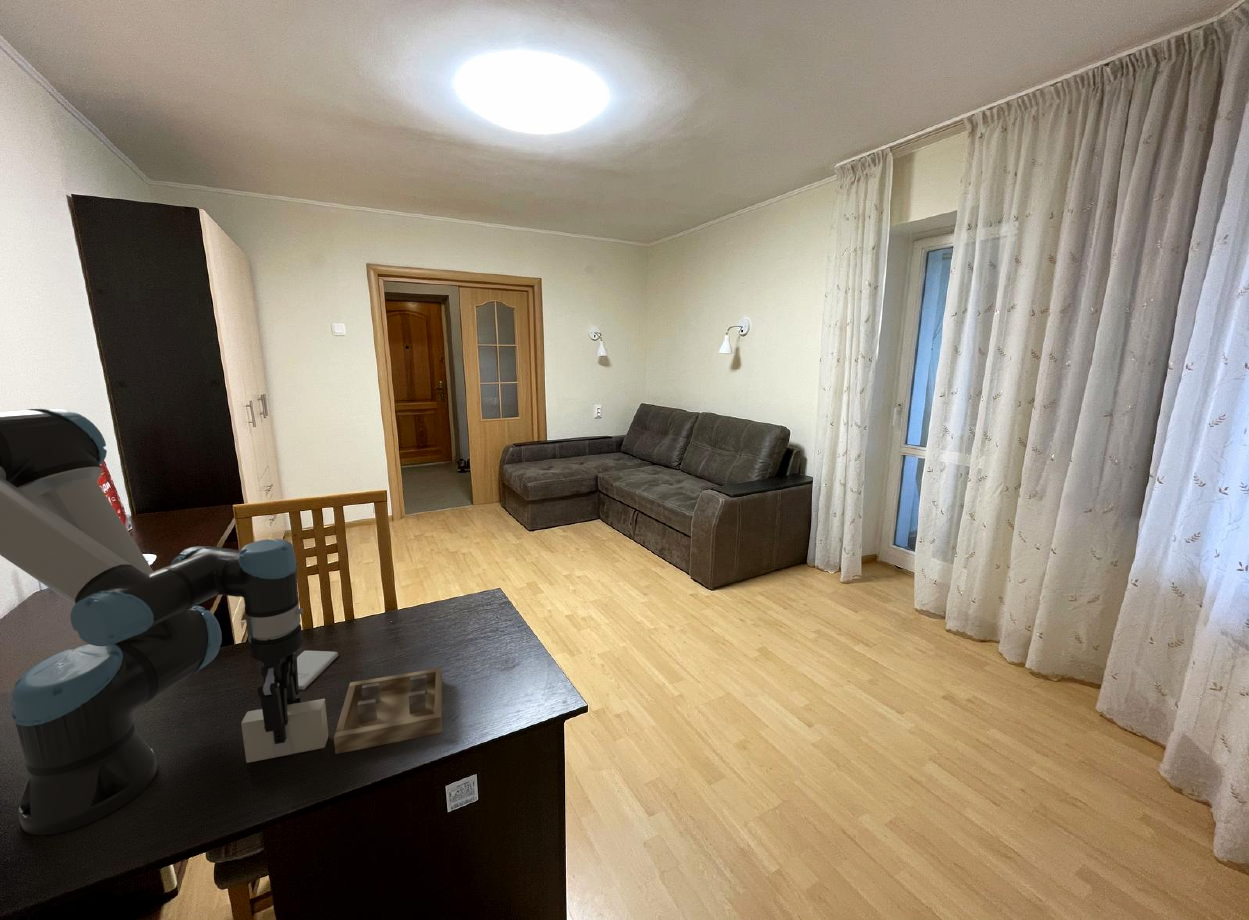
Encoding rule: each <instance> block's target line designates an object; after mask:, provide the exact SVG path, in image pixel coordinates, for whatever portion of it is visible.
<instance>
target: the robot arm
mask: <svg viewBox="0 0 1249 920" xmlns="http://www.w3.org/2000/svg"><path fill="white" fill-rule="evenodd" d="M106 446H107V444H106V440H105V438H104V436H103V434H102V432H101V431H100V430H99V428H98V427H97V426H96V425H95V424H94V423H93V422H92V421H91V420H90V419H89V418H87V417H86V416H83V415H82V414H80V413H77V412H75V411H71V410H69V409H64V408H63V409H62V408H51V409H50V408H29V409H26V410H25V409H24V410H16V411H15V410H13V411H1V412H0V556H1V557H3V558H4V559H5V560H7V561H8V562H10V563H12V564H13V565H14V566H16V567H17V568H19V569H20V570H22V571H23V572H25V573H26V574H28V575H29V576H31V577H32V578H33V579H35V580H37V581H38V582H39V583H41V584H43V585H44V586H46V587H47V588H49V589H50V590H51V591H53V592H55V593H56V594H58V595H59V596H61V598H63V599H65V600H67V601H68V602H70V603H71V604H72V605H73V607H72V609H71V611H70V617H69V618H70V624H71V628H73V630H74V631H76V632H77V634H78V635H79V636H78V637H79V638H80V639H81V640H82V641H83V642H85V644H81V645H79V646H78V647H76V648H73V649H72V648H68V649H65V650H63V651H60V652H58V653H56V654H54V655H51V656H49V657H47V658H46V659H44V660H42V661H40V662H38V663H37V664H35V665H34V666H33V667H31V668H30V669H28V670H27V671H26V672H24V673H23V674H22V675H21V676H20V677H19V679H18V680H17V681H16V682H15V683H14V686H13V688H12V690H11V693H10V699H11V700H10V703H11V718H12V720H13V721H14V722H15V723H14V724H15V726H16V729H17V731H16V732H17V734H18V738H19V742H20V746H21V749H22V750H21V751H22V754H23V756H24V757H23V759H24V761H25V765H26V770H27V777H26V780H25V784H24V788H23V791H22V795H21V799H20V803H19V806H18V817H19V822H20V825H21V829H22V830H23V831H24V832H25V833H28V834H30V835H35V836H51V835H56V834H61V833H66V832H69V831H72V830H76V829H78V828H81V827H84V826H87V825H90V824H91V823H94V822H96V821H98V820H100V819H103V818H105V817H106V816H108V815H110V814H112V813H113V812H115V811H117V810H119V809H120V808H122V807H123V806H125V805H126V804H128V803H129V802H131V801H132V800H133V799H135V798H136V797H137V796H138V795H140V794H141V793H142V792H143V791H144V790H145V789H146V788H147V787H148V786H149V785H150V783H151V782H152V780H153V779H154V777H155V775H156V774H157V771H158V764H157V762H158V761H157V758H156V754H155V751H154V750H153V748H151V747H150V746H149V745H148V744H147V742H146V741H145V740H144V738H142V737H141V735H140V734H139V733H138V732H137V730H136V727H135V722H134V721H135V720H134V716H133V713H134V711H136V710H137V709H139V708H140V707H142V706H144V705H145V704H146V703H148V702H150V701H151V700H153V699H155V698H157V697H158V696H160V695H161V694H163V693H165V692H167V691H168V690H169V689H171V688H173V687H174V686H176V685H178V684H179V683H181V682H182V681H184V680H186V679H187V678H190V677H192V676H195V674H197V673H198V672H199V671H200V670H201V669H203V668H205V667H206V666H207V665H208V664H210V663H211V662H213V660H215V658H216V657H217V655H218V653H219V652H220V649H221V647H220V646H221V645H222V640H223V637H222V630H221V627H220V623H219V621H218V619H217V618H216V616H215V615H214V614H213V613H212V611H210V610H208V609H207V610H206V608H205V607H203V606H200V604H201V603H204V602H207V601H208V600H210V599H212V598H214V597H217V596H228V597H235V598H236V597H238V598H239V597H240V598H243V602H244V614H245V623H246V633H247V635H248V638H247V639H248V649H249V655H250V657H251V658H252V659H254V660H255V661H259V662H261V663H263V665H262V666H261V677H262V678H263V684H258V686H257V694H258V695H259V698H260V699H259V700H260V704H261V706H260V707H261V709H262V712H263V718H264V725H265V727H264V729H265V731H266V732H270V731H271V733H272V743H273V752H274V758H278V757H284V756H285V757H286V756H289V755H290V756H291V755H293V754H292V753H293V746H292V736H291V725H290V720H288V716H287V705H289V704H295V703H301V702H302V697H298V698H297V696H298V695H299V694H300V689H299V686H298V669H297V657H298V650H299V649H300V648H301V647H302V645H303V629H302V624H301V615H302V614H303V613H304V609H303V608H302V607H301V608H300V599H299V589H298V588H299V587H298V586H299V585H298V562H297V559H296V554H295V549H294V546H293V544H292V542H290V541H288V540H285V539H281V538H275V539H274V538H273V539H262V540H256V541H253V542H250V543H248V544H245V545H244V546H242V547H241V549H235V548H234V549H232V548H225V547H221V546H212V545H209V546H206V545H205V546H201V545H199V546H192V547H188V548H185V549H183V550H182V551H181V552H180V553H179V554H178V555H177V556H176V557H175V558H173V560H172V561H171V563H170V565H167V566H164V567H162V568H159V569H156V570H153V568H152V567H151V565H150V564H149V562H148V560H147V559H146V558H145V556H144V555H143V552H142V551H141V550H140V548H139V546H138V545H137V543H136V541H135V540H134V538H133V537H132V535H131V533H130V532H129V531H128V529H127V527H126V525H125V524H124V522H123V521H122V519H121V517H120V516H119V514H118V513H117V512H116V509H115V508H114V506H113V505H112V504H111V502H110V500H109V498H108V497H107V495H106V494H105V492H104V491H103V489H102V487H101V486H100V484H99V483H98V482H99V481H98V480H99V479H100V477H101V475H102V474H103V472H104V469H103V468H102V466H101V465H102V464H103V462H105V459H106V457H107V449H105V447H106Z"/></svg>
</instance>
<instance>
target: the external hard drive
mask: <svg viewBox="0 0 1249 920" xmlns="http://www.w3.org/2000/svg"><path fill="white" fill-rule="evenodd" d="M338 656H339V652H337V651H328V650H327V651H324V650H323V651H322V650H303V652H301V653H300V654H299V655H297V669H298V686H299V690H301V691H302V690H305V689H306V688H308V687H309V685H310V684H311V683H313V681H314V680H315V679H316V678H317V677H318V676H320V675H321V674H322V673H323V672H324V671H325V670H326V668H328V666H330V664H331V663H332V662H334V660H336V658H337V657H338Z"/></svg>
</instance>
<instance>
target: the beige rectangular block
mask: <svg viewBox="0 0 1249 920" xmlns="http://www.w3.org/2000/svg"><path fill="white" fill-rule="evenodd" d="M287 716H288V720H290V725H291V736H292V746H293V753H292V754H291V755H295V754H299V753H305V752H310V751H314V750H315V751H316V750H320V749H325V748H326V745H327V742H328V738H329V728H328V718H327V706H326V699H325V698H321V699H315V700H314V699H313V700H308V701H307V700H306V701H301V703H295V704H289V705H287ZM240 724H241V731H242V732H241V733H242V740H243V746H244V753H245V761H246V764H248V763H254V762H258V761H263V760H268V759H269V760H270V759H273V758H275V757H274V752H273V743H272V733H271V731H270V732H266V731H265V729H264V727H265V725H264V718H263V712H262V708H261V709H260V708H259V709H255V710H247V712H246V713H245V716H244V717H243V719H242V721H241V722H240Z"/></svg>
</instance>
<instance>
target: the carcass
mask: <svg viewBox="0 0 1249 920" xmlns="http://www.w3.org/2000/svg"><path fill="white" fill-rule="evenodd" d="M342 705H343V706H342V708H341V711H340V716H339V719H338V722H337V726H336V729H335V732H334V735H333V742H334V753H335V755H339V754H342V753H348V752H354V751H357V750H364V749H368V748H372V747H377V746H383V745H387V744H393V743H398V742H403V741H407V740H412V739H417V738H422V737H423V738H424V737H428V736H432V735H433V736H434V735H437V734H442V730H443V729H442V724H443V721H442V720H443V719H442V718H443V716H442V715H443V667H438V668H431V669H426V670H420V671H419V670H418V671H414V672H413V671H411V672H408V673H406V672H405V673H400V674H394V675H389V676H381V677H378V678H377V677H376V678H371V679H364V680H358V681H352V682H351V681H350V682H349V684H348V689H347V692H346V695H345V698H344V703H343V704H342Z"/></svg>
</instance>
